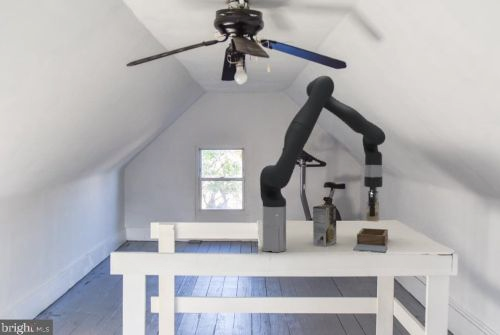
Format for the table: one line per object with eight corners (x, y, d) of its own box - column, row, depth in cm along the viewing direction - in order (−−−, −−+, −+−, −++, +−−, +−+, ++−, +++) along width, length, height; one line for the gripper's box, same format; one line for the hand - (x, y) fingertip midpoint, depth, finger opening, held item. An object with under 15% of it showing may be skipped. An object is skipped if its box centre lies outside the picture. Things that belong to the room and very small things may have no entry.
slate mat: (385, 253, 163) (385, 251, 163) (353, 250, 168) (353, 249, 168) (387, 247, 173) (387, 246, 173) (356, 245, 178) (356, 244, 178)
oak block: (377, 221, 181) (377, 202, 181) (366, 221, 183) (366, 202, 183) (378, 220, 186) (378, 201, 185) (367, 219, 187) (368, 201, 187)
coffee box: (323, 241, 187) (323, 204, 186) (336, 243, 183) (336, 205, 182) (312, 244, 180) (312, 206, 179) (326, 246, 176) (326, 207, 175)
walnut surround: (384, 247, 174) (384, 236, 174) (357, 245, 178) (357, 234, 178) (387, 239, 191) (387, 229, 191) (362, 238, 195) (362, 228, 195)
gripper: (366, 175, 192) (365, 213, 192) (362, 176, 179) (361, 217, 179) (383, 175, 189) (383, 214, 189) (381, 176, 176) (380, 218, 176)
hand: (372, 215), depth 184 cm, fingers closed on oak block, 4 cm apart
